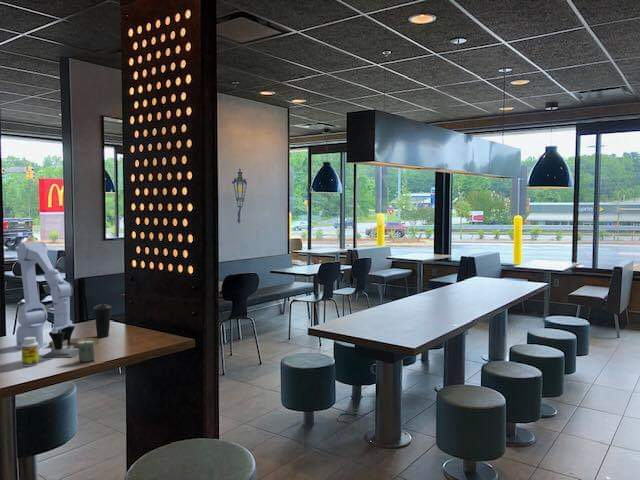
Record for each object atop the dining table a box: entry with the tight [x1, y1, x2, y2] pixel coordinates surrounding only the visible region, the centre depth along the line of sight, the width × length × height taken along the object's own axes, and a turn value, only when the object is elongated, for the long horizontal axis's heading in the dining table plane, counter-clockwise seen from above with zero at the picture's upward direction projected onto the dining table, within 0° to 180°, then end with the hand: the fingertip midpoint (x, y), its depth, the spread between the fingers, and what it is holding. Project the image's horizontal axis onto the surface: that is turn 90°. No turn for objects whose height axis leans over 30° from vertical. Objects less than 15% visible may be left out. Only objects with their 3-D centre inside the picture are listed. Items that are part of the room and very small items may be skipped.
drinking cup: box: [93, 292, 112, 339], centre depth 244 cm, size 8×8×20 cm
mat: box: [41, 349, 79, 359], centre depth 215 cm, size 12×10×1 cm
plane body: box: [48, 337, 99, 348], centre depth 229 cm, size 18×7×2 cm, turn 93°
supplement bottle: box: [21, 337, 40, 367], centre depth 201 cm, size 6×6×10 cm
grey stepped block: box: [50, 340, 75, 355], centre depth 215 cm, size 7×4×5 cm, turn 93°
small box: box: [77, 341, 95, 363], centre depth 206 cm, size 6×5×8 cm
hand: (62, 346), depth 215 cm, fingers open, 7 cm apart
